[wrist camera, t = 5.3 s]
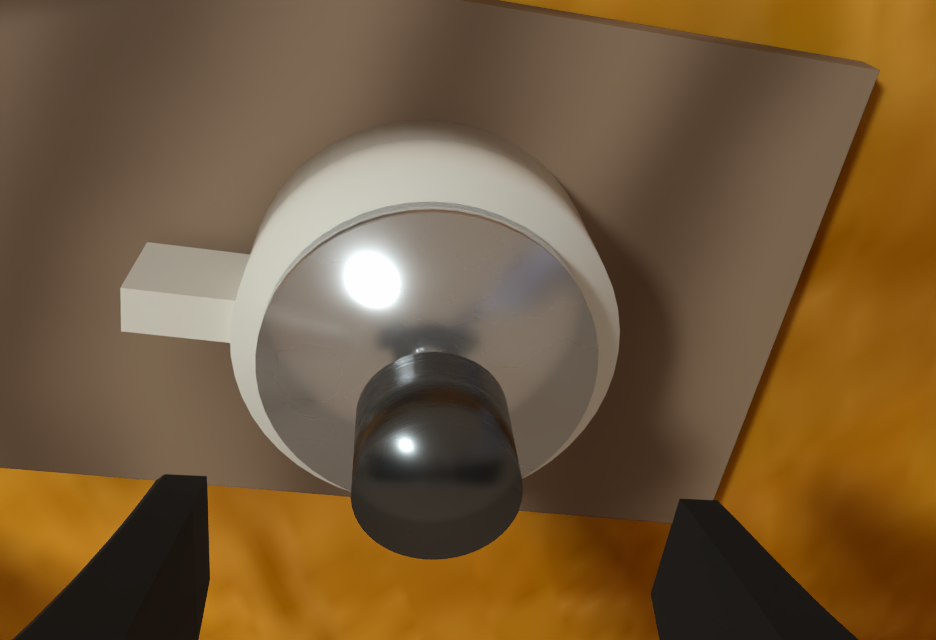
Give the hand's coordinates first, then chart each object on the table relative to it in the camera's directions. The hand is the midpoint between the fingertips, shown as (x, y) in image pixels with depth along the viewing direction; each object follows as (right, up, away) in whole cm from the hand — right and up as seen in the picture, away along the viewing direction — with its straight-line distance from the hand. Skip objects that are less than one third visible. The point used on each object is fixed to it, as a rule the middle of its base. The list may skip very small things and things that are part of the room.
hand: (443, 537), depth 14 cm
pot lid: (0, +3, +5) cm, 5 cm away
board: (-2, +5, +8) cm, 9 cm away
